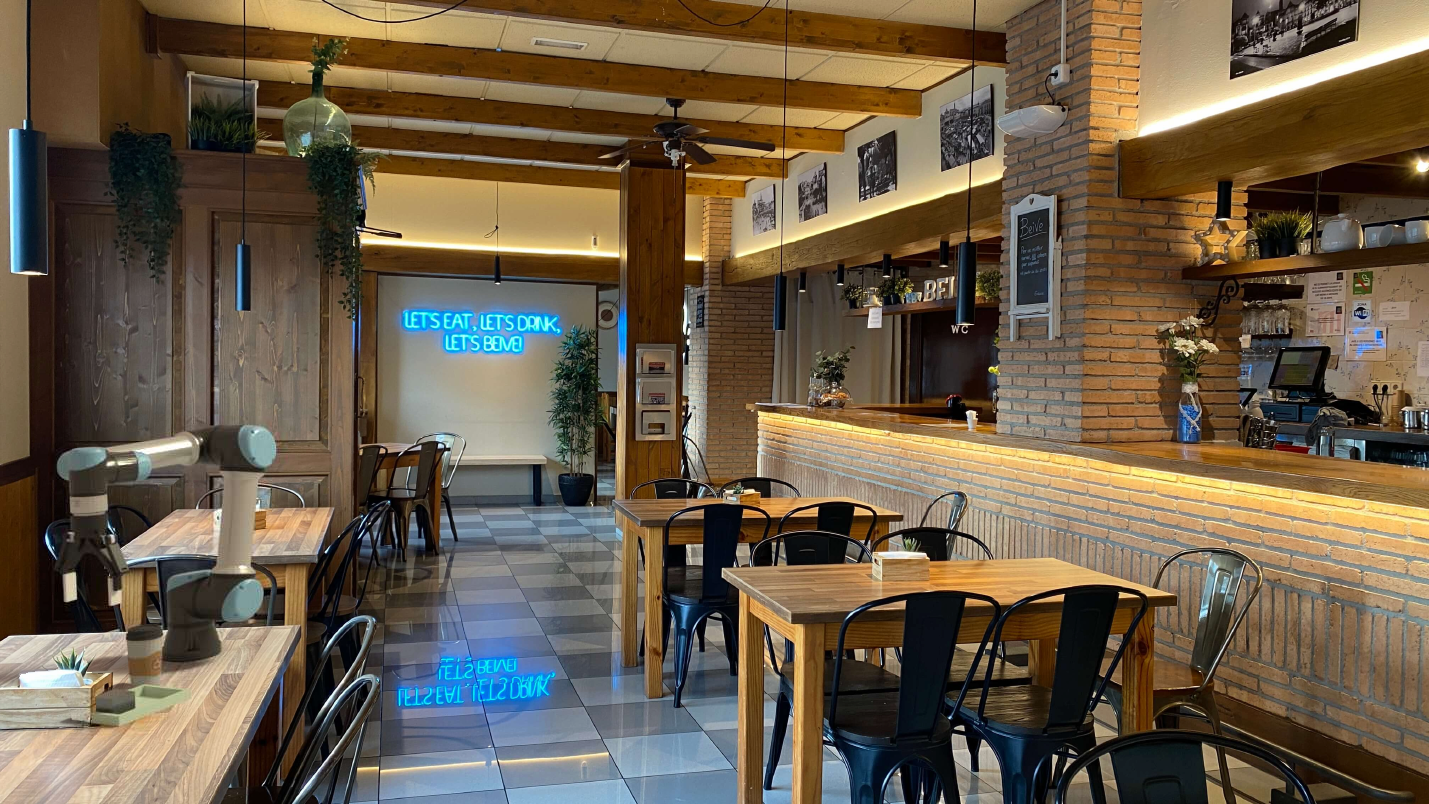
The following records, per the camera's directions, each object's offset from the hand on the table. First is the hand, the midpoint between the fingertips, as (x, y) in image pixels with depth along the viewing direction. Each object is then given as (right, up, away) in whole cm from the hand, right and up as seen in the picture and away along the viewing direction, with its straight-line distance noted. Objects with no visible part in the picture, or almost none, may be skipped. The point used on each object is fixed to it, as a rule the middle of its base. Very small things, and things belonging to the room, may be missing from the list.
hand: (92, 602), depth 240 cm
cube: (+10, -24, -8) cm, 27 cm away
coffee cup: (+4, -25, +16) cm, 29 cm away
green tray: (+11, -25, -3) cm, 28 cm away
